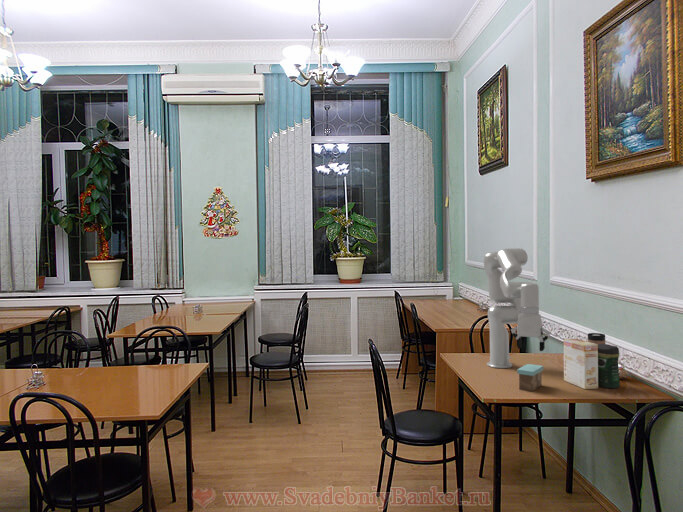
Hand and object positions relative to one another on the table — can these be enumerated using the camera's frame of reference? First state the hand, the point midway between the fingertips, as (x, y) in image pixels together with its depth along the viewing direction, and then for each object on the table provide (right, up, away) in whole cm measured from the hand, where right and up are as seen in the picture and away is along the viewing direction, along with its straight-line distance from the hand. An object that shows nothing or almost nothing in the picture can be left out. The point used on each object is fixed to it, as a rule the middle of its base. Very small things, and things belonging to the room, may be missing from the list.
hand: (530, 349), depth 220 cm
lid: (0, -10, 0) cm, 10 cm away
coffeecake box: (+24, -17, +4) cm, 30 cm away
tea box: (0, -17, +1) cm, 17 cm away
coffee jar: (+34, -17, 0) cm, 38 cm away
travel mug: (+39, -16, +18) cm, 46 cm away
